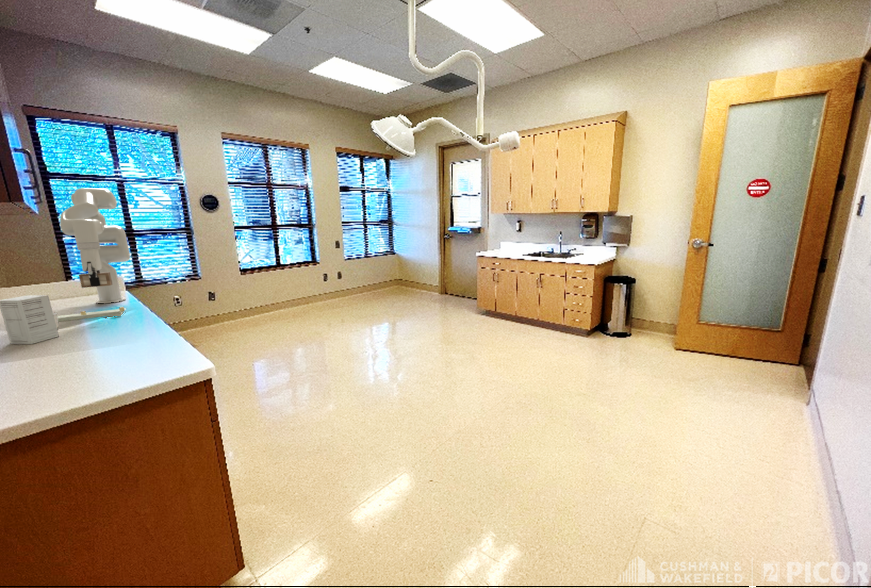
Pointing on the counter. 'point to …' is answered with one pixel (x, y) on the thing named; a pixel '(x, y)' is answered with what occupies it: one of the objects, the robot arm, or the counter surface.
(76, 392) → the counter surface
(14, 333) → the supplement box
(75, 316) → the panel
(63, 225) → the robot arm
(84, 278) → the frame
